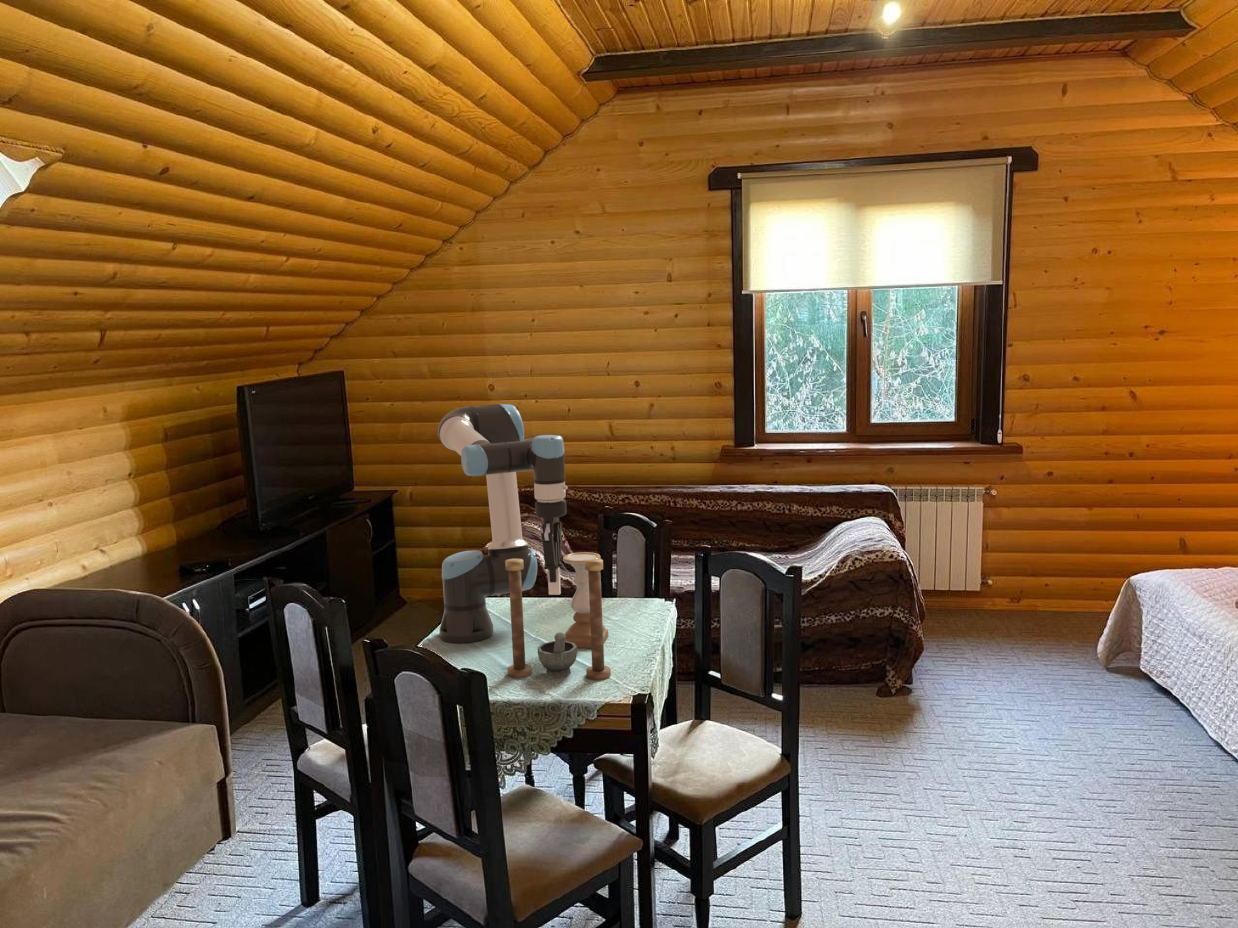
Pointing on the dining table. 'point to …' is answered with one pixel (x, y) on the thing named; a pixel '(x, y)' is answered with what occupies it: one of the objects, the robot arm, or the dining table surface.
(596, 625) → the right candlestick
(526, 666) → the left candlestick
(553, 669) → the mortar and pestle
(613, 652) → the dining table surface
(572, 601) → the candle holder
